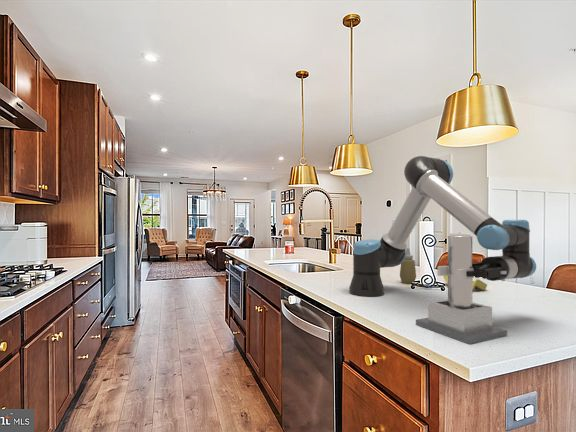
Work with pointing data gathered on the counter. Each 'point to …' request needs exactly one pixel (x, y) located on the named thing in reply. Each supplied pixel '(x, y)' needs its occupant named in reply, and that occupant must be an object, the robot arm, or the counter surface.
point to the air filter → (459, 259)
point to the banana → (473, 283)
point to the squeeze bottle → (408, 269)
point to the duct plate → (461, 322)
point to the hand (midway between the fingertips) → (447, 272)
